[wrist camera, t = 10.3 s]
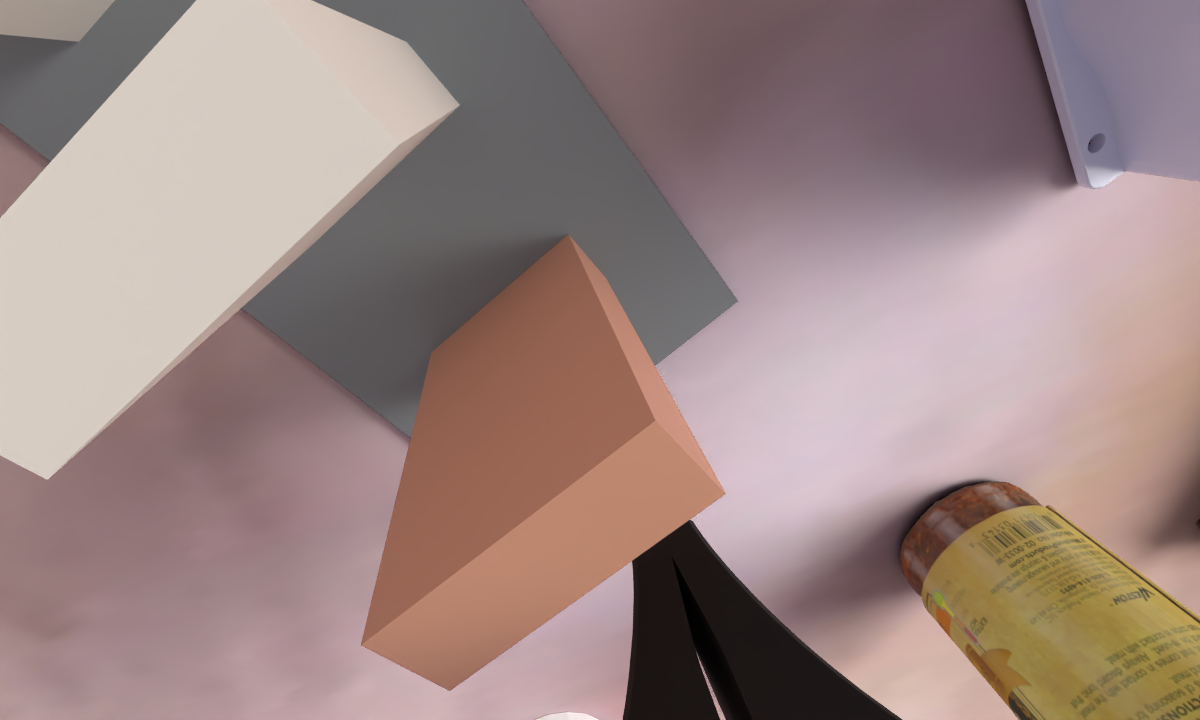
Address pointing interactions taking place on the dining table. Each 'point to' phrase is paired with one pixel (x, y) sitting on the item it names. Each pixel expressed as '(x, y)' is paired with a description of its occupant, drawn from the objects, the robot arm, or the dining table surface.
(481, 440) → the terracotta domino
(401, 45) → the domino
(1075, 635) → the sauce bottle
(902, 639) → the dining table surface
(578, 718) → the beverage cup
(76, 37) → the domino
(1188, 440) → the dining table surface
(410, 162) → the slate mat
